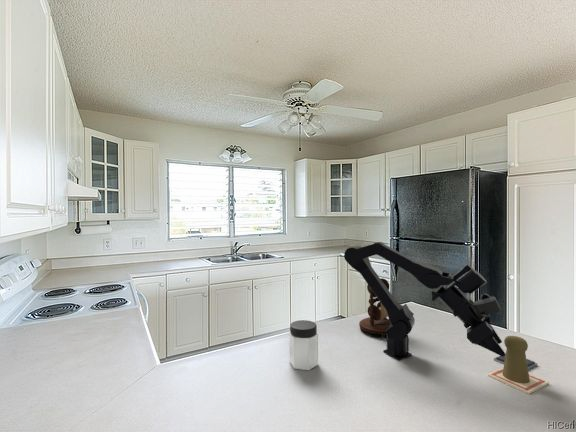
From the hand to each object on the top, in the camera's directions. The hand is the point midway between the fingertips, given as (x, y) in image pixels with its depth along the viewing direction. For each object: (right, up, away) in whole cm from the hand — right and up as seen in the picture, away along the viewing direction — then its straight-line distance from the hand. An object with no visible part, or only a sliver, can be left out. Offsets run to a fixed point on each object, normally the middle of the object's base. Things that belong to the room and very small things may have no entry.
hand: (502, 348), depth 86 cm
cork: (+3, -7, -1) cm, 8 cm away
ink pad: (+9, -8, +8) cm, 14 cm away
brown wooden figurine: (-24, -8, +34) cm, 43 cm away
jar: (-55, -8, +9) cm, 56 cm away
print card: (+3, -8, -2) cm, 9 cm away
